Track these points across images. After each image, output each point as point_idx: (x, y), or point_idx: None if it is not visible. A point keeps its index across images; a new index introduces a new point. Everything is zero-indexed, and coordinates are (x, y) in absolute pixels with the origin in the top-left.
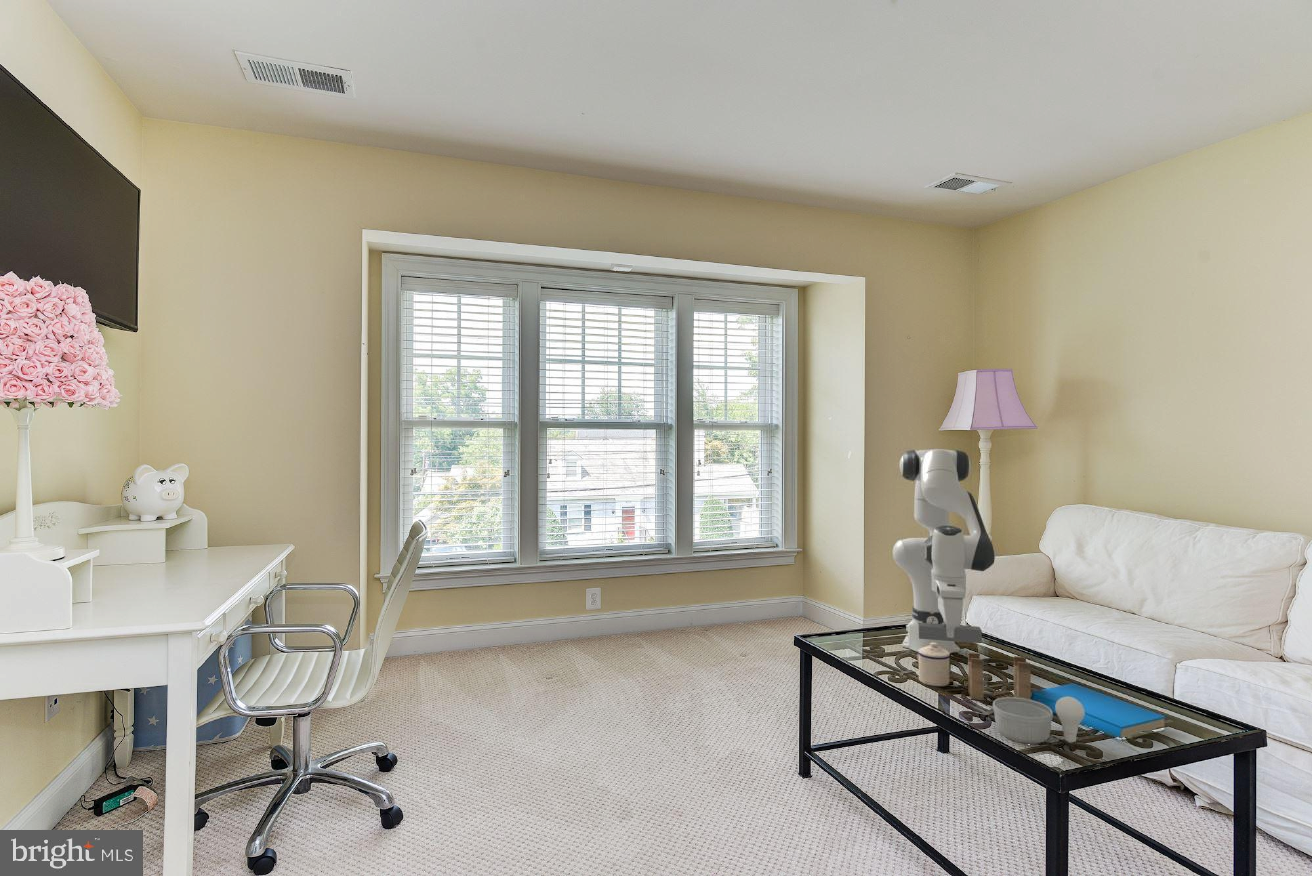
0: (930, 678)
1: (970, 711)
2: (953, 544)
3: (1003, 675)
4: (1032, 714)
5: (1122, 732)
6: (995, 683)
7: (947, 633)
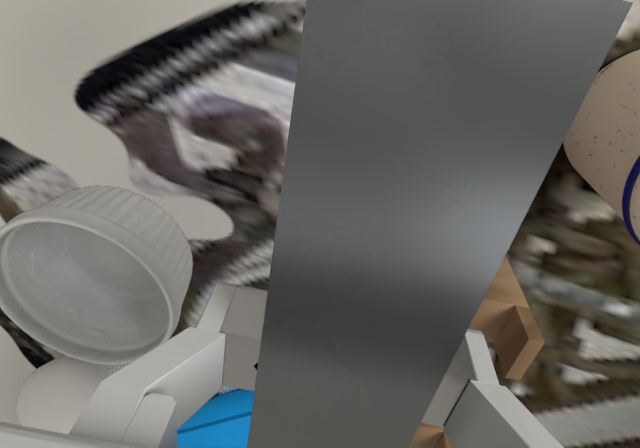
0: (600, 93)
1: (281, 157)
2: None
3: (629, 376)
4: (165, 313)
5: None
6: (558, 329)
7: (206, 310)
